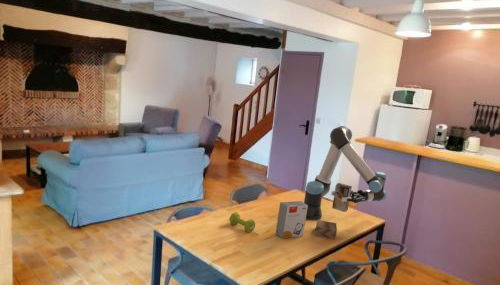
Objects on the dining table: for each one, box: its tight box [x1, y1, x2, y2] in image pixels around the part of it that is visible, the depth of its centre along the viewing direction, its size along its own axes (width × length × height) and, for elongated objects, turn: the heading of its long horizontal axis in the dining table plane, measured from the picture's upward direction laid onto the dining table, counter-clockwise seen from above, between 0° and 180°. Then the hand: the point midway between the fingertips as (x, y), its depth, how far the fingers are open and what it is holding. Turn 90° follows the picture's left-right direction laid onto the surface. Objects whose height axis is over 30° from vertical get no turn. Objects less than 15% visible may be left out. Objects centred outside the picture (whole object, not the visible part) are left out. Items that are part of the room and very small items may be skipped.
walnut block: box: [314, 219, 338, 240], centre depth 220 cm, size 12×12×6 cm
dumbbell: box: [228, 212, 256, 233], centre depth 215 cm, size 16×8×7 cm, turn 48°
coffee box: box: [331, 182, 353, 213], centre depth 228 cm, size 9×6×16 cm
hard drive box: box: [275, 200, 308, 239], centre depth 212 cm, size 16×8×20 cm, turn 117°
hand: (336, 196), depth 226 cm, fingers closed on coffee box, 11 cm apart
